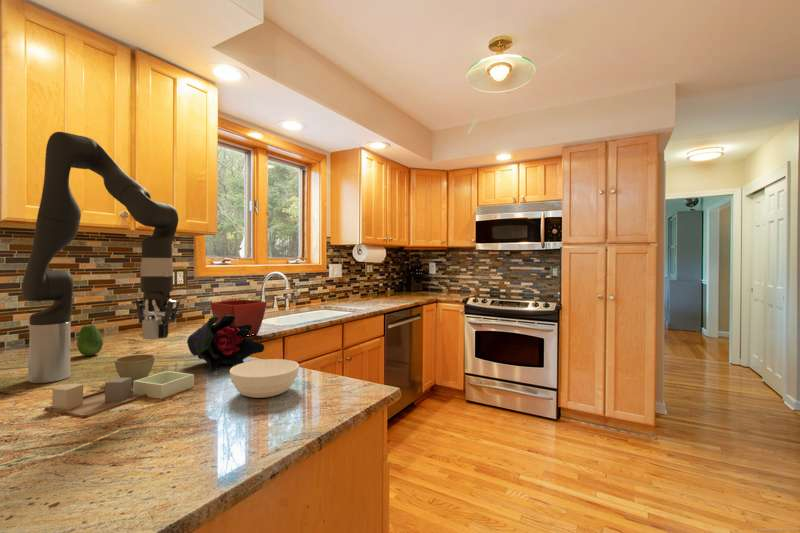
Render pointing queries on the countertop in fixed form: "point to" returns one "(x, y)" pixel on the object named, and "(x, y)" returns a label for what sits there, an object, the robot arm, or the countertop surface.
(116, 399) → the stone basalt
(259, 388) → the bowl
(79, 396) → the stone sand
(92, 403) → the walnut tray
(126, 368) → the flower pot
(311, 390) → the countertop surface
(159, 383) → the green bin
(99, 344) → the avocado
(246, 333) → the decorative plant
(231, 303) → the plant pot
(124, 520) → the countertop surface
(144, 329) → the stone slate
